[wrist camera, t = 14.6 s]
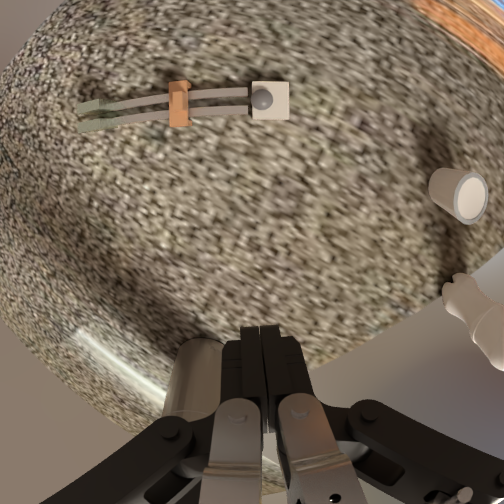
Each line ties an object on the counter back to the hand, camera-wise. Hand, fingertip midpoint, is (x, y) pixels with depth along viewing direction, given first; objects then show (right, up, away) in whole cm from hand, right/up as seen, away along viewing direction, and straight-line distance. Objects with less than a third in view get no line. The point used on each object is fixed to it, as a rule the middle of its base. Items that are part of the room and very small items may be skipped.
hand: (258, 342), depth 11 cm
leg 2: (-10, +20, +19) cm, 29 cm away
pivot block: (+1, +21, +19) cm, 28 cm away
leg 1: (-10, +22, +19) cm, 30 cm away
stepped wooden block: (-8, +21, +19) cm, 29 cm away
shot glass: (+27, +13, +23) cm, 38 cm away
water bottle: (+34, -2, +30) cm, 46 cm away
